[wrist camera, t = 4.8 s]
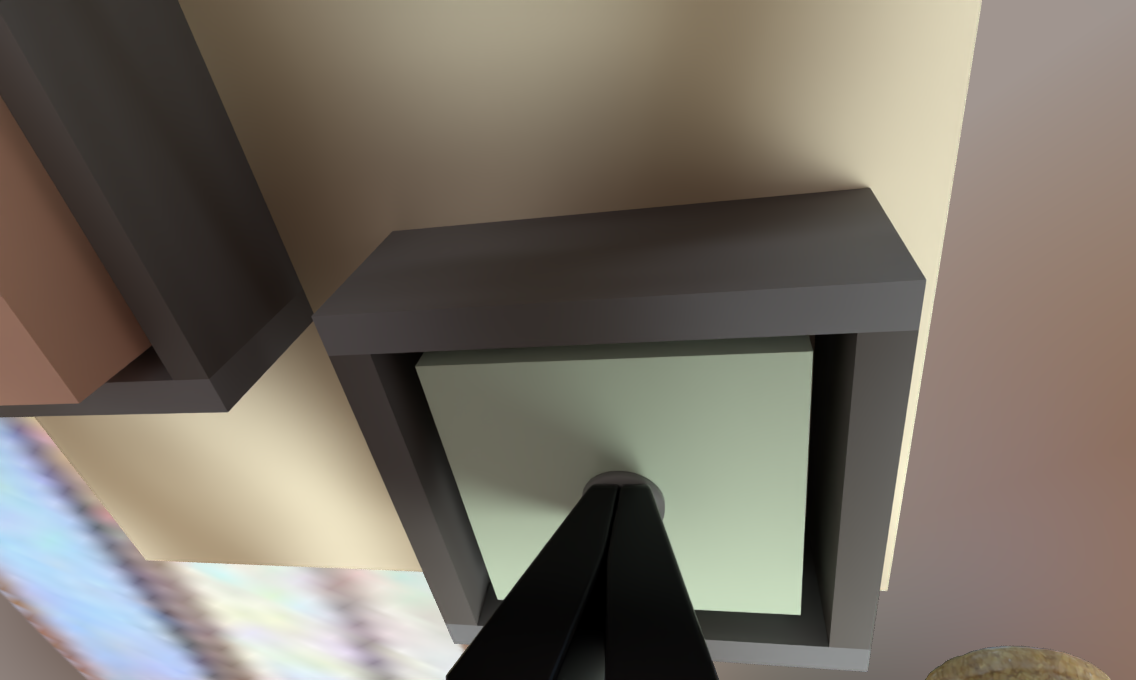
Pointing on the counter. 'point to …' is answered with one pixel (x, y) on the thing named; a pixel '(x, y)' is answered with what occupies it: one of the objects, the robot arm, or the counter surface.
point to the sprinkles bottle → (1016, 665)
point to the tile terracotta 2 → (52, 290)
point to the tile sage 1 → (638, 452)
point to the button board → (487, 251)
